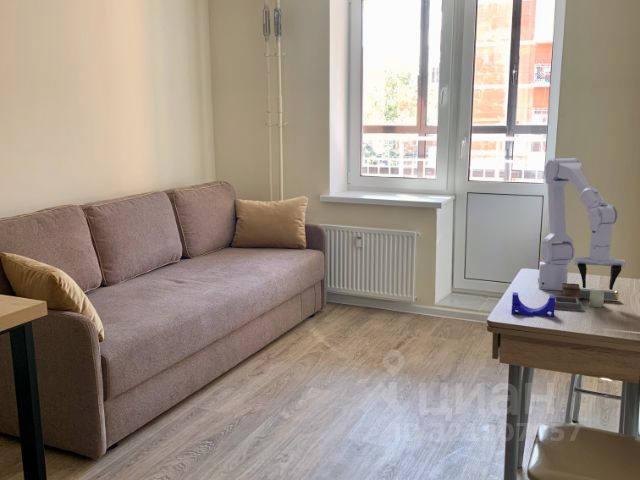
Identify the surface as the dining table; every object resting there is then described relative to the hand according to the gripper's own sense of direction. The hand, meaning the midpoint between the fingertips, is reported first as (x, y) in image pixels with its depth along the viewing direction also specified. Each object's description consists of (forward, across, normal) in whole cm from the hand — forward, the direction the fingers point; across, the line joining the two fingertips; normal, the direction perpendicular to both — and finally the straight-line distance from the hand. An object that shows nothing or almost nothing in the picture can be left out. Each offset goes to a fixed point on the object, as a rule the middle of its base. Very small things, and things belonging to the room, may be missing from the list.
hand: (597, 288), depth 207 cm
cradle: (+6, -9, -3) cm, 11 cm away
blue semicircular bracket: (+6, -19, -15) cm, 25 cm away
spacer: (+6, 0, 0) cm, 6 cm away
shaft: (+6, 0, +7) cm, 9 cm away
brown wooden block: (+6, -7, +7) cm, 11 cm away
